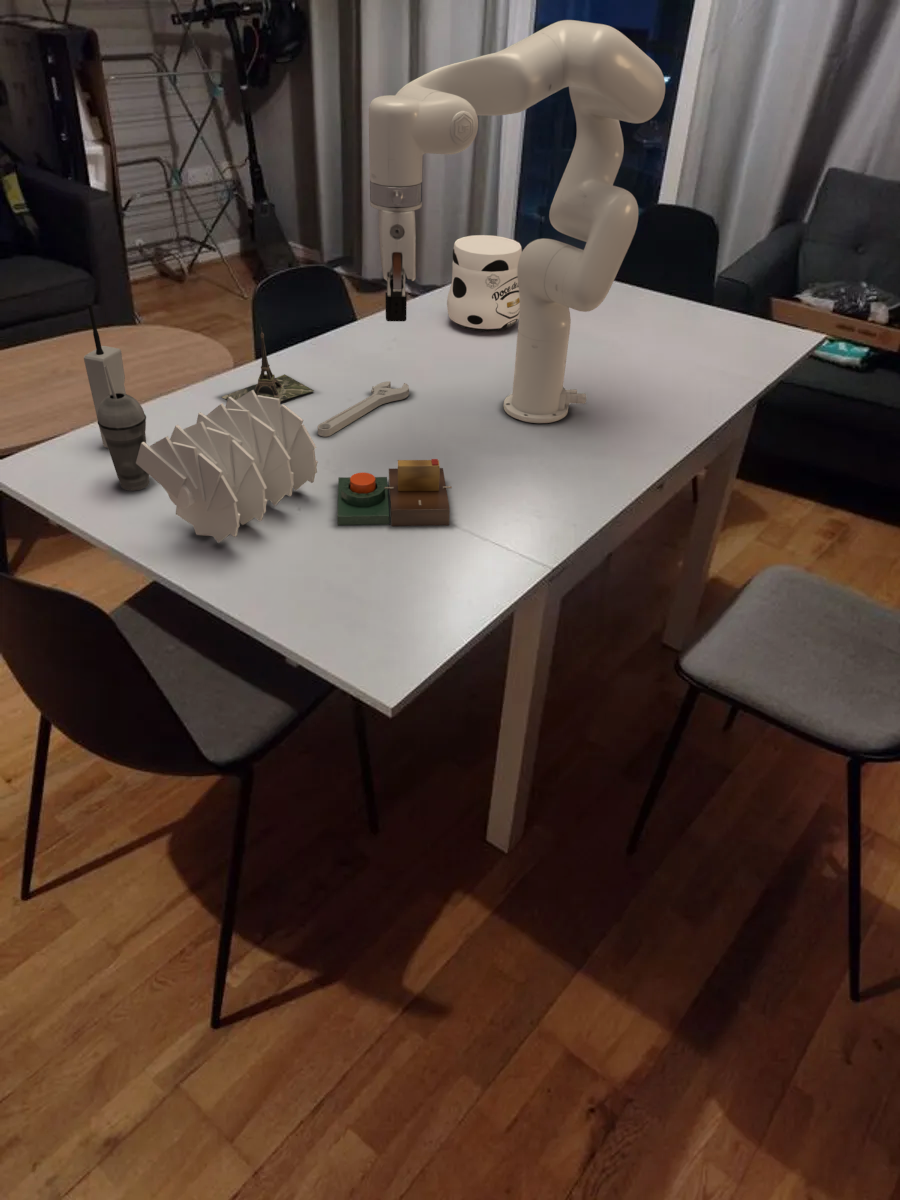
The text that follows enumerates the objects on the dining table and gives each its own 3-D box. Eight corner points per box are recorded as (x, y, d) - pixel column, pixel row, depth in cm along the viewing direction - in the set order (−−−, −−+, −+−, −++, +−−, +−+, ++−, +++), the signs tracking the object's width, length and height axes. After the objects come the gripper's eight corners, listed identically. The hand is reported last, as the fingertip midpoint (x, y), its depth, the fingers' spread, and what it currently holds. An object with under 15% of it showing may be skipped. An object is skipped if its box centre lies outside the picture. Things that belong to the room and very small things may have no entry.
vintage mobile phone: (139, 439, 156) (111, 298, 141) (122, 451, 153) (91, 308, 137) (121, 435, 157) (91, 295, 142) (103, 447, 154) (71, 305, 138)
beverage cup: (133, 500, 140) (108, 381, 128) (102, 486, 143) (74, 369, 131) (167, 481, 145) (147, 365, 133) (136, 468, 148) (113, 354, 136)
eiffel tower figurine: (251, 414, 166) (244, 346, 158) (221, 397, 171) (212, 329, 163) (314, 392, 174) (310, 326, 166) (284, 376, 180) (278, 311, 172)
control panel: (383, 484, 147) (383, 467, 145) (447, 483, 148) (448, 466, 146) (386, 526, 137) (385, 509, 135) (454, 525, 138) (455, 508, 136)
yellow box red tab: (398, 491, 140) (398, 464, 137) (397, 484, 141) (397, 458, 138) (438, 490, 140) (439, 464, 137) (438, 484, 142) (438, 458, 139)
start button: (350, 481, 141) (350, 472, 140) (375, 481, 142) (375, 472, 141) (350, 494, 138) (349, 485, 137) (375, 494, 139) (375, 484, 138)
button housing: (338, 486, 146) (338, 467, 144) (387, 485, 147) (386, 467, 145) (337, 525, 137) (336, 506, 135) (389, 524, 138) (389, 505, 135)
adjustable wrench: (326, 439, 160) (325, 430, 158) (300, 428, 163) (300, 419, 161) (414, 394, 175) (414, 386, 174) (389, 385, 178) (389, 377, 177)
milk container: (521, 339, 201) (528, 258, 190) (445, 335, 201) (448, 254, 190) (517, 312, 215) (524, 235, 204) (446, 309, 215) (449, 232, 204)
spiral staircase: (311, 507, 148) (210, 575, 130) (233, 441, 150) (122, 499, 131) (349, 427, 136) (244, 490, 118) (264, 357, 137) (147, 408, 119)
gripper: (425, 208, 122) (422, 337, 133) (418, 182, 134) (417, 303, 145) (370, 207, 121) (372, 337, 132) (369, 181, 133) (371, 302, 144)
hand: (396, 319), depth 139 cm, fingers closed
